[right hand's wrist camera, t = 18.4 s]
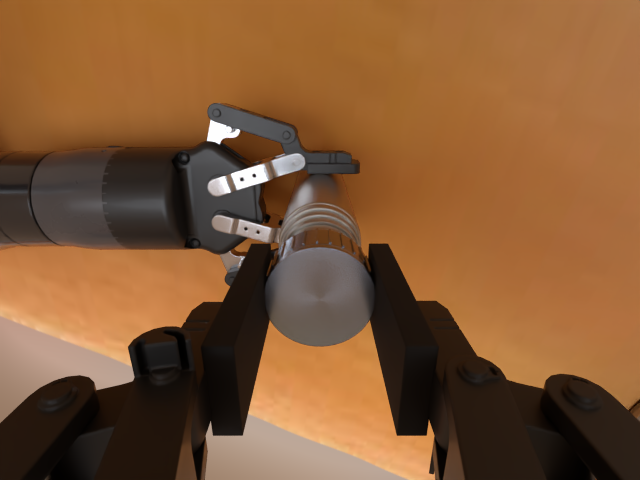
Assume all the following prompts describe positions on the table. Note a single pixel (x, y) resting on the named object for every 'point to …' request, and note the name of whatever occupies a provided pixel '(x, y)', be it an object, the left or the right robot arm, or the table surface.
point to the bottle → (319, 207)
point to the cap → (319, 288)
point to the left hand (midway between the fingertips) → (356, 198)
